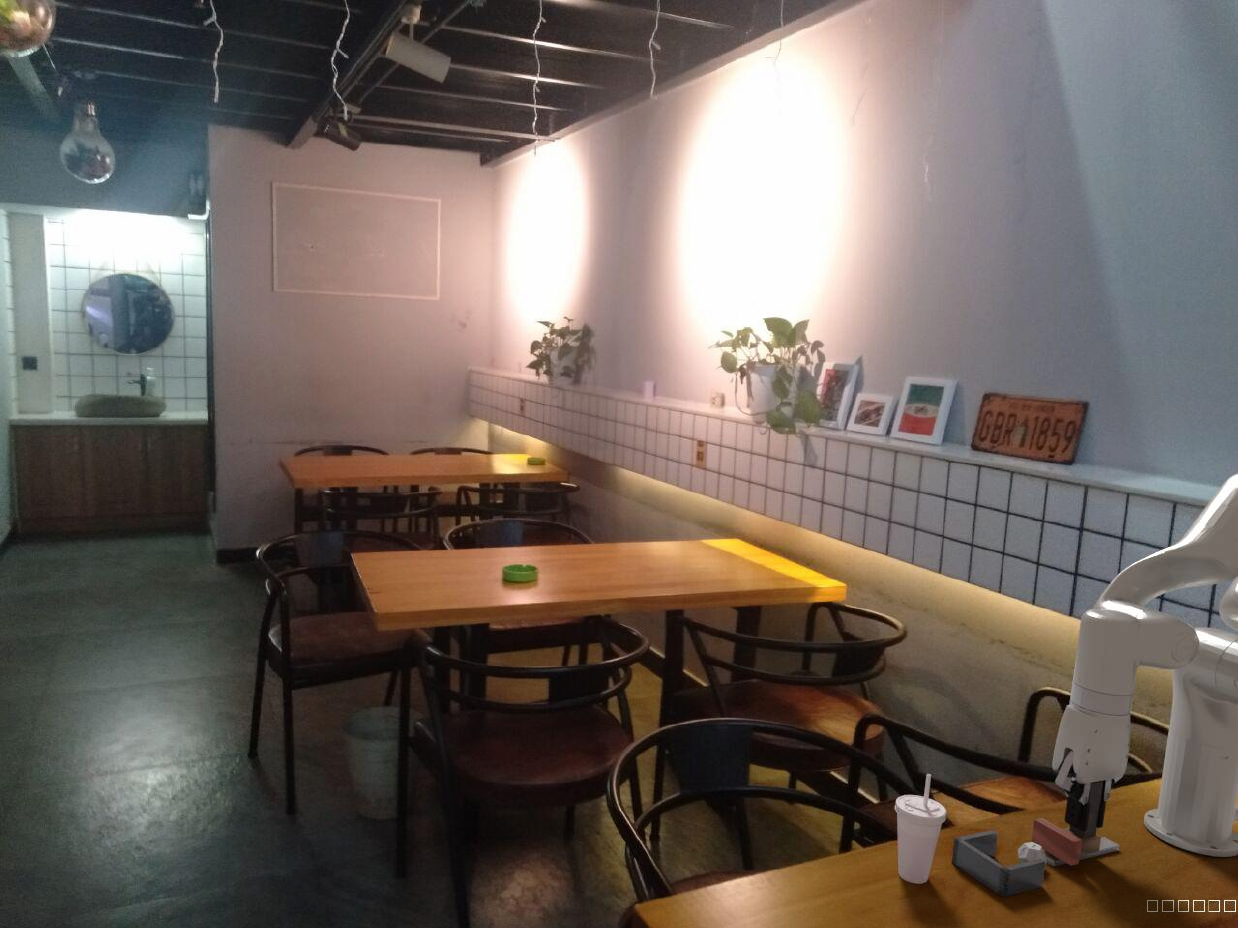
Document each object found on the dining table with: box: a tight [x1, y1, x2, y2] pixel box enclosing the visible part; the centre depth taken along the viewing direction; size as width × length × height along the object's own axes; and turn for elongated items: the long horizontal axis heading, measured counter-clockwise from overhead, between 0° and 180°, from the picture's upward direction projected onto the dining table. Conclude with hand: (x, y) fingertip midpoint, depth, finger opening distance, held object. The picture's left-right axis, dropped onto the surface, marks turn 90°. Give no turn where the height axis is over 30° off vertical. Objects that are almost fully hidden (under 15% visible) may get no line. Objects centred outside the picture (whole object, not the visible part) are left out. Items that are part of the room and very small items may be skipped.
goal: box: [951, 829, 1046, 898], centre depth 122 cm, size 7×9×4 cm
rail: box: [1044, 836, 1120, 867], centre depth 129 cm, size 14×2×1 cm, turn 116°
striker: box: [1031, 781, 1103, 867], centre depth 128 cm, size 8×6×10 cm
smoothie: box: [894, 773, 947, 885], centre depth 120 cm, size 6×6×14 cm
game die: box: [1017, 841, 1048, 866], centre depth 125 cm, size 4×4×3 cm
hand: (1083, 823), depth 129 cm, fingers closed on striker, 2 cm apart
